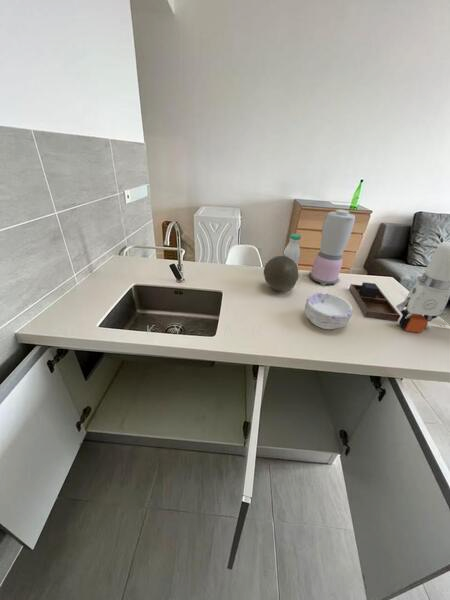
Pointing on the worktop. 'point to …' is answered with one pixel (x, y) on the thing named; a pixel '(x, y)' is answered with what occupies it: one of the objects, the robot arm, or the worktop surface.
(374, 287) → the black cube
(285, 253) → the milk bottle
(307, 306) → the paper bowls
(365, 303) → the holder
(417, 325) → the orange cube
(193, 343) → the worktop surface
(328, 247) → the blender
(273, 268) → the dark brown ball
